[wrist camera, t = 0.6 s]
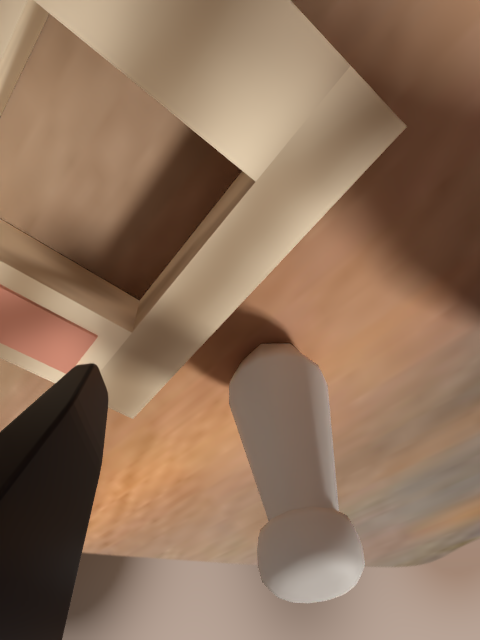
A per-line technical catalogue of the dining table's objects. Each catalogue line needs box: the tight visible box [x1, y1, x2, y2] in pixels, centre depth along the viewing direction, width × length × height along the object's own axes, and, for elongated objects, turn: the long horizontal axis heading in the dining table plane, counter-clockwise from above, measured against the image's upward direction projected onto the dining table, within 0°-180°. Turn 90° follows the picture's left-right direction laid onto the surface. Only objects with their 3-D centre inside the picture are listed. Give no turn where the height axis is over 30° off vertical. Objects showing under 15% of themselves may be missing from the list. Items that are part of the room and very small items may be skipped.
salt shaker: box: [229, 343, 365, 603], centre depth 22 cm, size 6×6×13 cm
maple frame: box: [0, 0, 407, 419], centre depth 19 cm, size 16×20×3 cm
